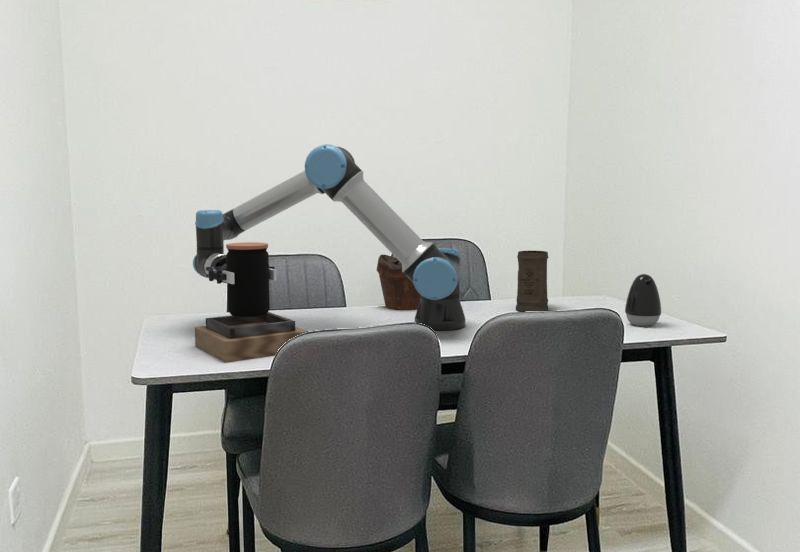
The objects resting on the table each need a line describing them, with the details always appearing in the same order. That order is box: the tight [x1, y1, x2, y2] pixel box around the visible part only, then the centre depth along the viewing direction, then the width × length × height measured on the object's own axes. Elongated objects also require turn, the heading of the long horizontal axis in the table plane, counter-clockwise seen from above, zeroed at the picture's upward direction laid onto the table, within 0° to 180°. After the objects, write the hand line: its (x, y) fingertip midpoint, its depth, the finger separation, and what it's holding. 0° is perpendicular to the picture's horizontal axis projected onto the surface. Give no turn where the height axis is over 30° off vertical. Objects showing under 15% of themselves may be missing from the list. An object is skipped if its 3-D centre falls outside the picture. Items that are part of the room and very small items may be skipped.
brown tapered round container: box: [376, 254, 420, 311], centre depth 257 cm, size 18×20×18 cm
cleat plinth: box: [194, 311, 309, 363], centre depth 196 cm, size 22×22×8 cm
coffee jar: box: [225, 241, 271, 317], centre depth 194 cm, size 11×11×18 cm
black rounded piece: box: [624, 273, 662, 328], centre depth 223 cm, size 10×10×15 cm
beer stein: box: [515, 250, 549, 313], centre depth 251 cm, size 15×11×20 cm
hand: (254, 276), depth 191 cm, fingers closed on coffee jar, 11 cm apart
